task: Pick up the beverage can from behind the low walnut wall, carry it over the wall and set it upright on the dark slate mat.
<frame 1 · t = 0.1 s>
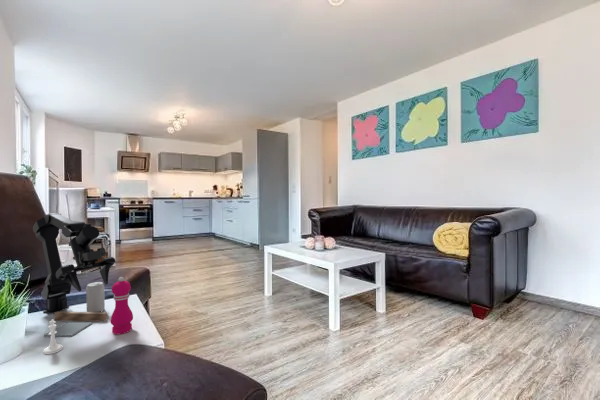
hand: (93, 287, 114), 15 cm above the table, tool tilted 30°, fingers open, 9 cm apart
low wall: (80, 319, 120), on the table
slate mat: (69, 329, 112), on the table
beverage can: (95, 311, 129), on the table
pepper mill: (122, 331, 111), on the table
chess piece: (53, 350, 98), on the table
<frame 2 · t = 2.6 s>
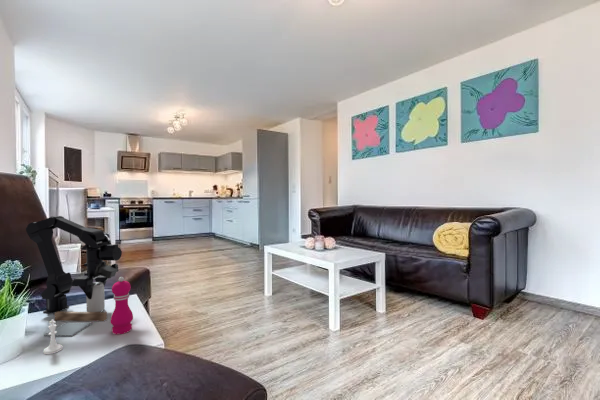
hand: (95, 296, 129), 7 cm above the table, tool pointing down, fingers closed on beverage can, 6 cm apart
beverage can: (95, 311, 129), on the table, touching gripper
everything else where it was.
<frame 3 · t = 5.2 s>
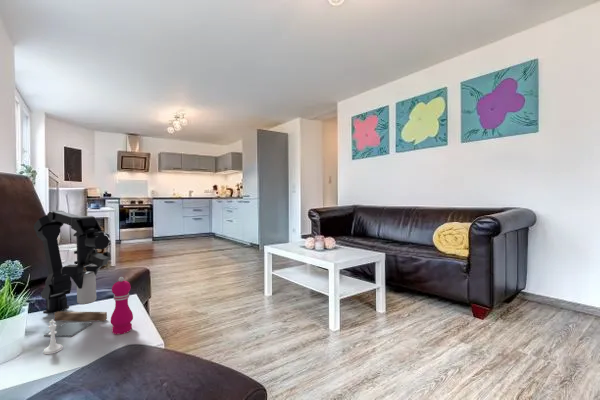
hand: (86, 285, 122), 13 cm above the table, tool pointing down, fingers closed on beverage can, 6 cm apart
beverage can: (86, 302, 122), point 6 cm above the table, touching gripper
everything else where it was.
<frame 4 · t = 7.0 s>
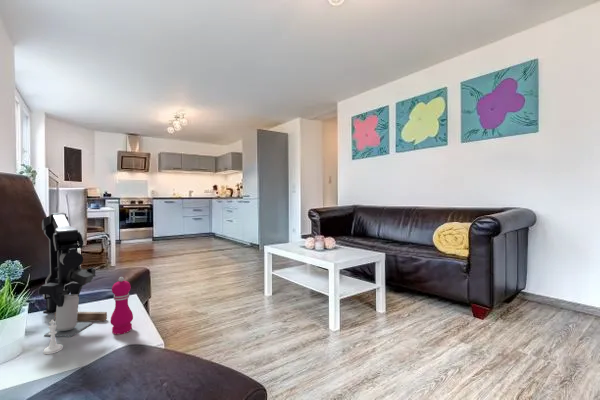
hand: (68, 305, 112), 9 cm above the table, tool pointing down, fingers closed on beverage can, 6 cm apart
beverage can: (65, 329, 110), point 1 cm above the table, touching gripper
everything else where it was.
when the fingers open (9 cm above the table, at t = 8.1 s): beverage can stays where it is, resting on slate mat.
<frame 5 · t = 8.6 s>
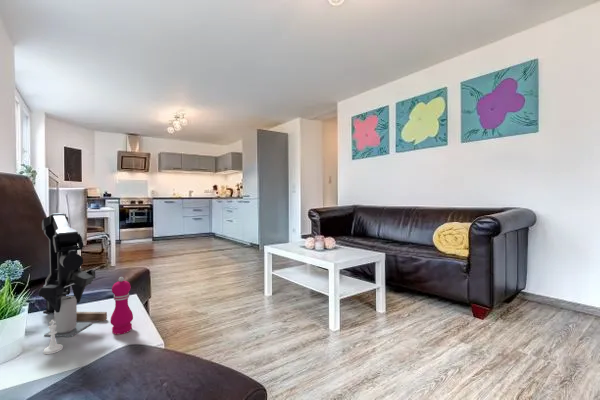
hand: (68, 307, 112), 9 cm above the table, tool pointing down, fingers open, 9 cm apart
beverage can: (65, 331, 110), resting on slate mat, touching gripper
everything else where it was.
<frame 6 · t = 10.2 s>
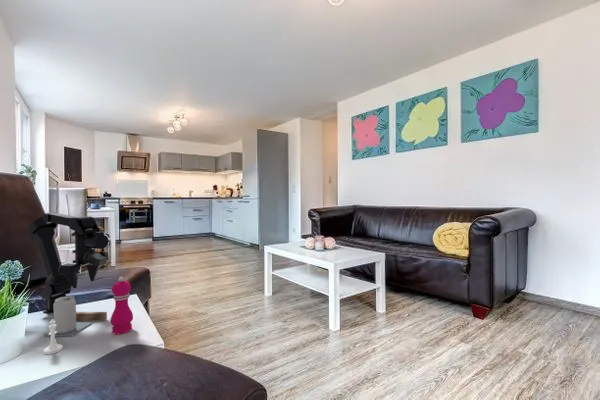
hand: (83, 284, 125), 13 cm above the table, tool pointing down, fingers open, 9 cm apart
beverage can: (65, 331, 110), resting on slate mat
everything else where it was.
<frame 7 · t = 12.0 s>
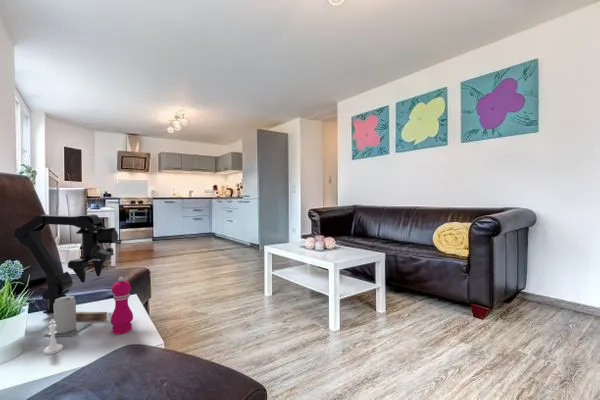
hand: (91, 279, 132), 13 cm above the table, tool pointing down, fingers open, 9 cm apart
nothing on the table moved.
at the end: beverage can inside the target area on the slate mat (2.0 cm from its centre), point 0.3 cm above the slate mat's base; beverage can tilted 0°; the gripper is holding nothing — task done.
